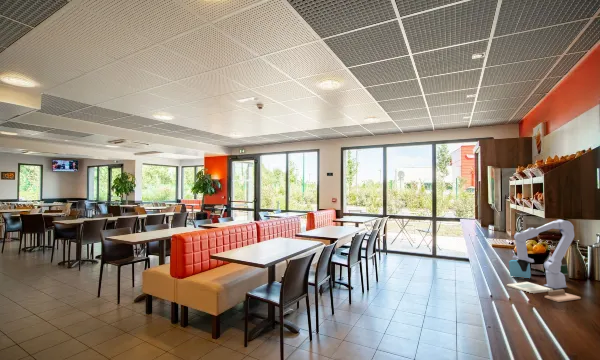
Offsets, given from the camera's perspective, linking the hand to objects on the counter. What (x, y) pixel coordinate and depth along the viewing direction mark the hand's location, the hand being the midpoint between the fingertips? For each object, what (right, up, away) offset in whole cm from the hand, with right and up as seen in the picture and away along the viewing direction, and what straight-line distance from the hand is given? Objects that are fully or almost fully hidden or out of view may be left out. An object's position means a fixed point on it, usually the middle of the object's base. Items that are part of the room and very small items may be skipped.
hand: (524, 271), depth 200 cm
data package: (+11, -10, +18) cm, 23 cm away
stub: (+2, -7, -27) cm, 28 cm away
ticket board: (-2, -9, -6) cm, 11 cm away
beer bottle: (+31, -8, +6) cm, 33 cm away
